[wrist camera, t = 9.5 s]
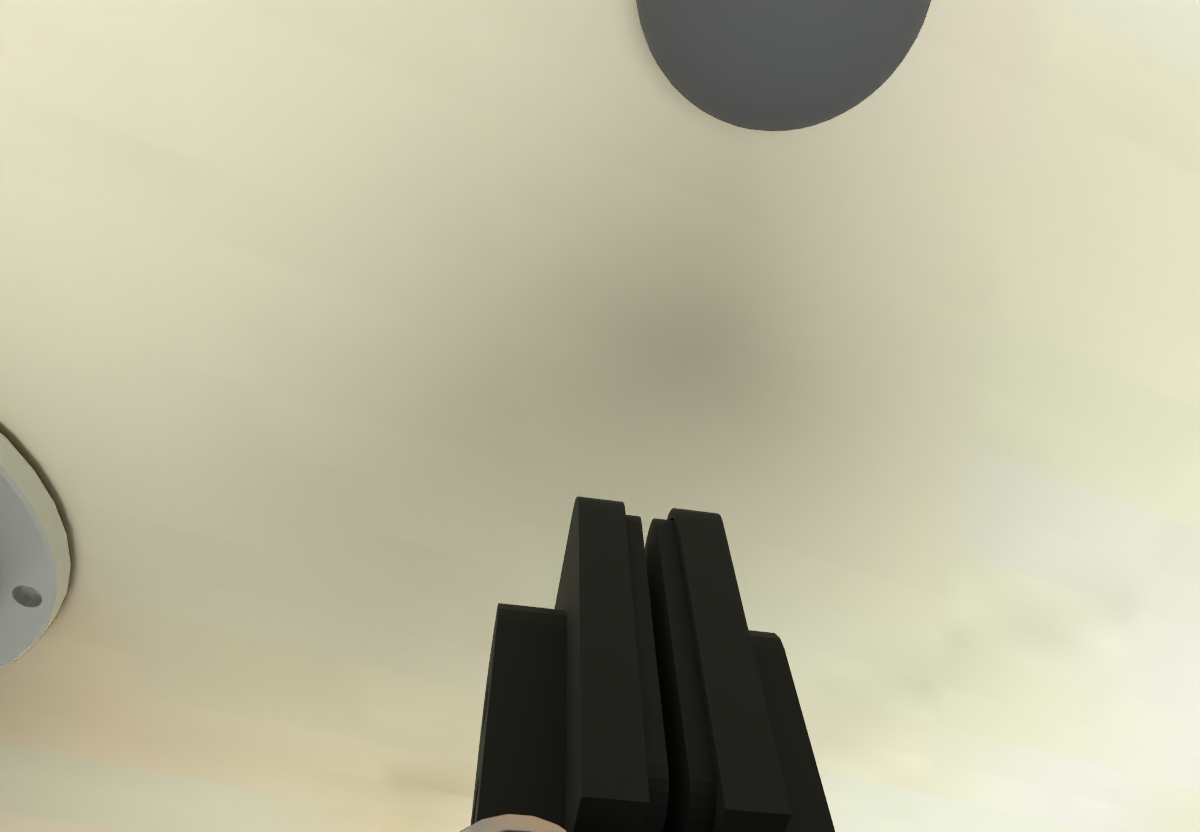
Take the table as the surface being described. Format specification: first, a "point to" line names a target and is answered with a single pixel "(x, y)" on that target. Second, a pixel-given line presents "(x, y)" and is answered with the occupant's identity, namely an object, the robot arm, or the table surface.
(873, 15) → the dark grey ball
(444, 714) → the table surface
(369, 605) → the table surface
